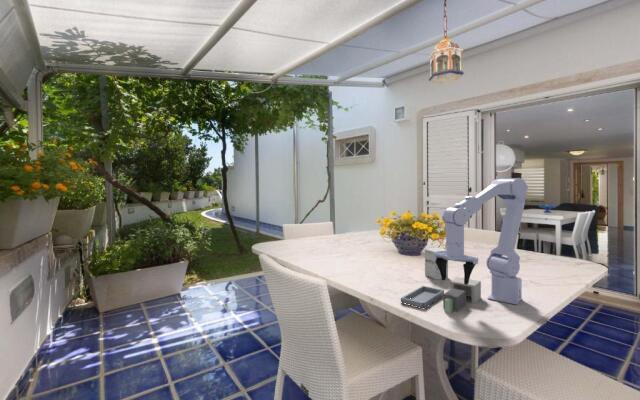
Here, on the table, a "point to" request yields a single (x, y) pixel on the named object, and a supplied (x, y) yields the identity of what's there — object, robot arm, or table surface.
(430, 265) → the supplement box
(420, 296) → the tray
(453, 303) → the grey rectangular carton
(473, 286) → the sleeve
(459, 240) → the robot arm
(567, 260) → the table surface
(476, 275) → the table surface
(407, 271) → the table surface
